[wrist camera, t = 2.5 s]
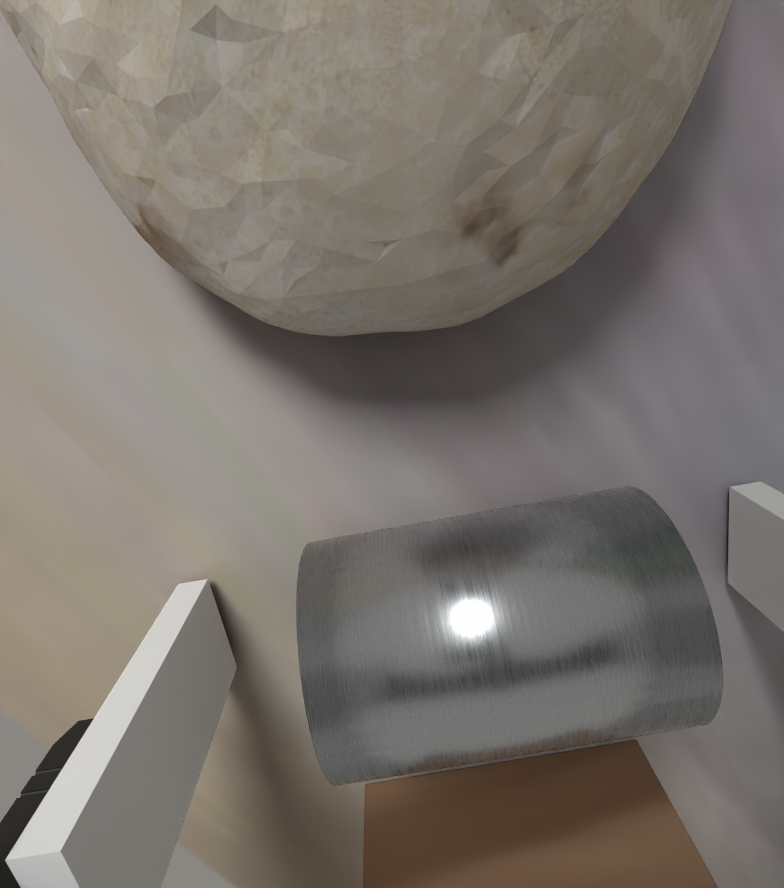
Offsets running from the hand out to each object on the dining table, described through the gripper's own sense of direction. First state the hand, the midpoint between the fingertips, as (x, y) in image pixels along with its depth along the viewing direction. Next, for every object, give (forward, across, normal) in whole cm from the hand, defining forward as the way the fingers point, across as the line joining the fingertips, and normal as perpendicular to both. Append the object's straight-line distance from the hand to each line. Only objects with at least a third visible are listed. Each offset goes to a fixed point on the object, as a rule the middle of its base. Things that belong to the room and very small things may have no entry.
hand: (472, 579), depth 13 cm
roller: (0, 0, 0) cm, 0 cm away
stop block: (0, 0, -8) cm, 8 cm away
